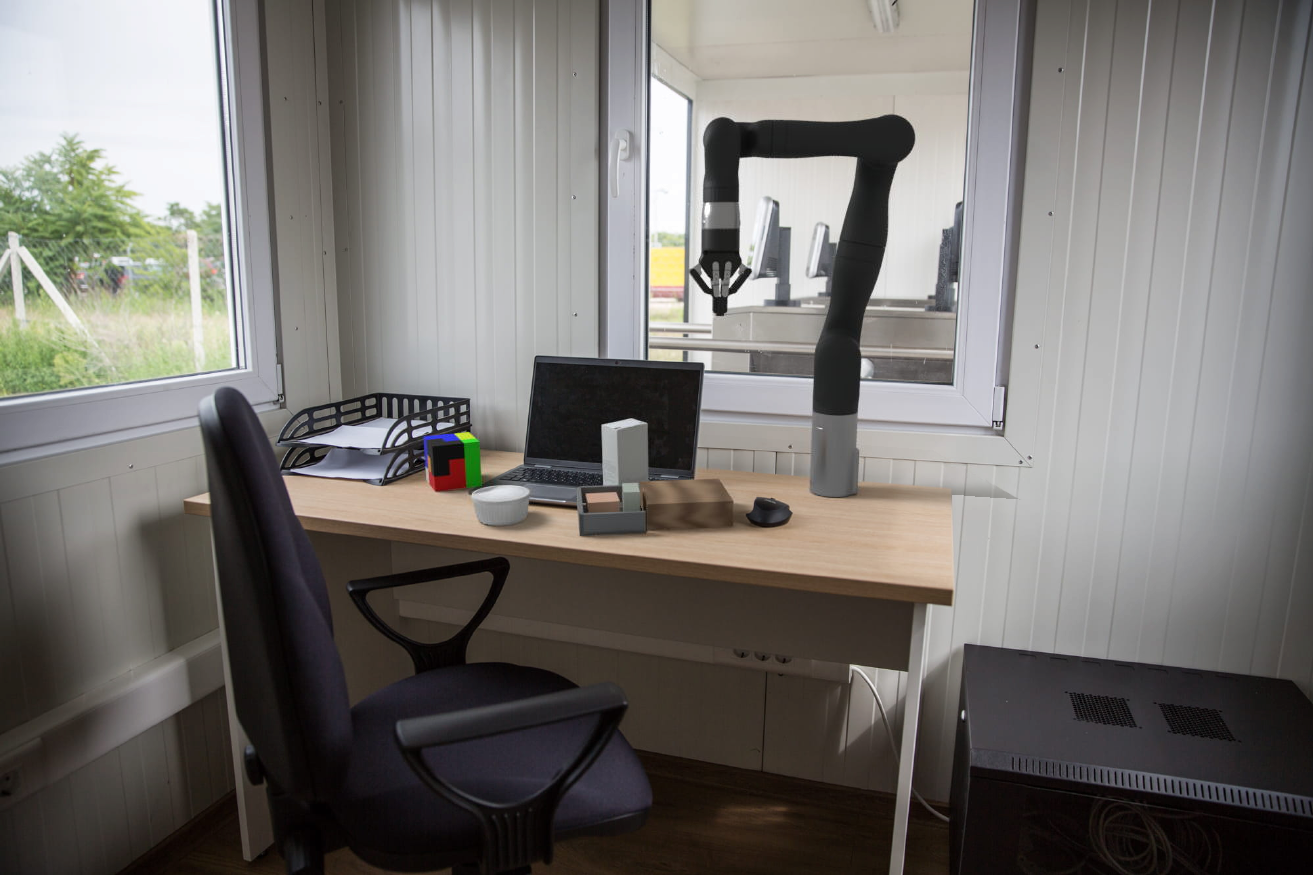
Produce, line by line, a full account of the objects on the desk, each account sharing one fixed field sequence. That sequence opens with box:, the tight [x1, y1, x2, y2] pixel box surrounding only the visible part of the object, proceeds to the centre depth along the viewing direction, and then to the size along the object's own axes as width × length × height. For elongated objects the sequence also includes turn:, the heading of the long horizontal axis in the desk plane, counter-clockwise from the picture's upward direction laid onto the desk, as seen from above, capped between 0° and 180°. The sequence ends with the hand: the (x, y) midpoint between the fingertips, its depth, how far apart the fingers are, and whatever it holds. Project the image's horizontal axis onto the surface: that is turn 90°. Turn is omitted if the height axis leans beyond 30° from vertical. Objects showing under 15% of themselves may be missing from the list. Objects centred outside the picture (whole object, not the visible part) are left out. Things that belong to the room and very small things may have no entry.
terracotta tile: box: [586, 492, 620, 513], centre depth 169 cm, size 6×6×3 cm
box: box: [576, 485, 647, 537], centre depth 167 cm, size 12×18×4 cm, turn 6°
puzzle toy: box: [423, 431, 483, 493], centre depth 190 cm, size 10×10×10 cm
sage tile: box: [622, 483, 641, 512], centre depth 165 cm, size 6×6×3 cm
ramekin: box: [471, 484, 531, 527], centre depth 167 cm, size 11×11×5 cm
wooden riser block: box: [640, 478, 735, 531], centre depth 168 cm, size 16×15×5 cm
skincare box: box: [601, 418, 649, 490], centre depth 183 cm, size 8×6×15 cm
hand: (719, 315), depth 175 cm, fingers closed
